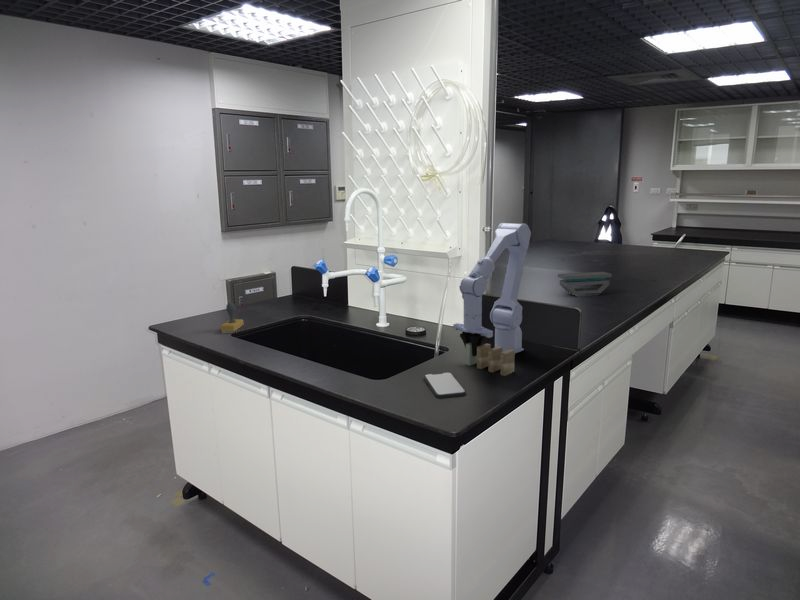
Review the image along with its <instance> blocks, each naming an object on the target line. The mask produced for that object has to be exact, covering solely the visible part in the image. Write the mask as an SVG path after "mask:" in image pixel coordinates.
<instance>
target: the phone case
mask: <svg viewBox="0 0 800 600" xmlns="http://www.w3.org/2000/svg"><path fill="white" fill-rule="evenodd" d="M423 380H424V382H425V383H426V385H428V388H429V389H430V391H431V392H432V393H433V395H434V397H436V398H437V399H446V398H455V397H463V396H466V395H467V391H466V390H465V388H464V387H463V386H462V385H461V383H460V382H459V381H458V379H457V377H455V376H454V375H453V373H451V372H439V373H438V372H437V373H428V374H425V375H424V376H423Z"/></svg>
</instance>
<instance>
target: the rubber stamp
mask: <svg viewBox="0 0 800 600" xmlns="http://www.w3.org/2000/svg"><path fill="white" fill-rule="evenodd" d="M225 309H226V311H227V314H228V315H229V320H227V321H226V322H224V323H222V324H221V325H220V330H221V331H235V330H237V329H238V328H240V327H241V326H242V325H244V320H243V318H242V319H238V318H237V319H235V318H234V316H235V312H236V305H235V304H234V303H233V302H228V303H227V304H226V307H225ZM244 326H245V325H244ZM221 331H220V332H221Z"/></svg>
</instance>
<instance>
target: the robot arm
mask: <svg viewBox="0 0 800 600" xmlns="http://www.w3.org/2000/svg"><path fill="white" fill-rule="evenodd" d="M494 234H495V238H494V240H493V242H492V243H491V245H490V248H489V249H488V251H487V253H486V255H485V257H481V258H479V259H478V260H477V263H476V264H475V265H474V267H473V268H472V269H471V271H470V273H469V274H468V276H465V277H463V278H462V280H461V281H460V285H459V292H460V293H461V298H462V300H463V323H458V322H456V323H454V324H452V325H453V326H452V327H453V331H459V332H461V333H460V334H459V337H460V338H461V340H462V343H463V345H464V348H465V349H466V344H467V343H470V342H471V344H472V356H477V347H478V346H481V345H482V344H483V341H484V339H485V338H487V339H490V338H493V337H494V348H495V347H497V346H500V347H502V352H504V351H507V350H509V349H512V350H515V354H517V353H520V352H522V351H524V350H525V349H524V348H523V347H522V345H523V344H522V340H523V338H522V337H523V332H522V328H521V327H520V325H521V323H522V322H523V306H522V305H521V303H519V301H518V295H519V291H520V286H521V281H522V276H523V271H524V265H525V261H526V257H527V252H528V249H529V245H530V240H531V235H532V232H531V230H530V228H529V225H528V224H527V223H513V222H511V223H510V222H508V223H506V222H501V223H499V225H498V226H497V229H495V231H494ZM505 249H507V250H508V252H509V256H508V262H507V267H506V271H505V276H504V280H503V286H502V291H501V296H500V297H499V298H498V299H497V300H496V301H494V302H493V303H494V304H493V306H492V309H491V311H490V312H489V319H490V321H491V323H492V324H493V327H494V331H493V330H491V329H489V328H486V327H484V326H483V325H482V324H483V323H482V319H483V317H482V315H483V313H482V312H483V307H482V306H483V303H482V302H483V295H484V294H485V292H486V290H487V285H488V280H489V278H490V276H492V274H493V272H494V271H495V269H496V266H495V265H496V264H495V262H497V260H498V259H499V257H500V256H501V254H502V253H503V252H504V251H505Z"/></svg>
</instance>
